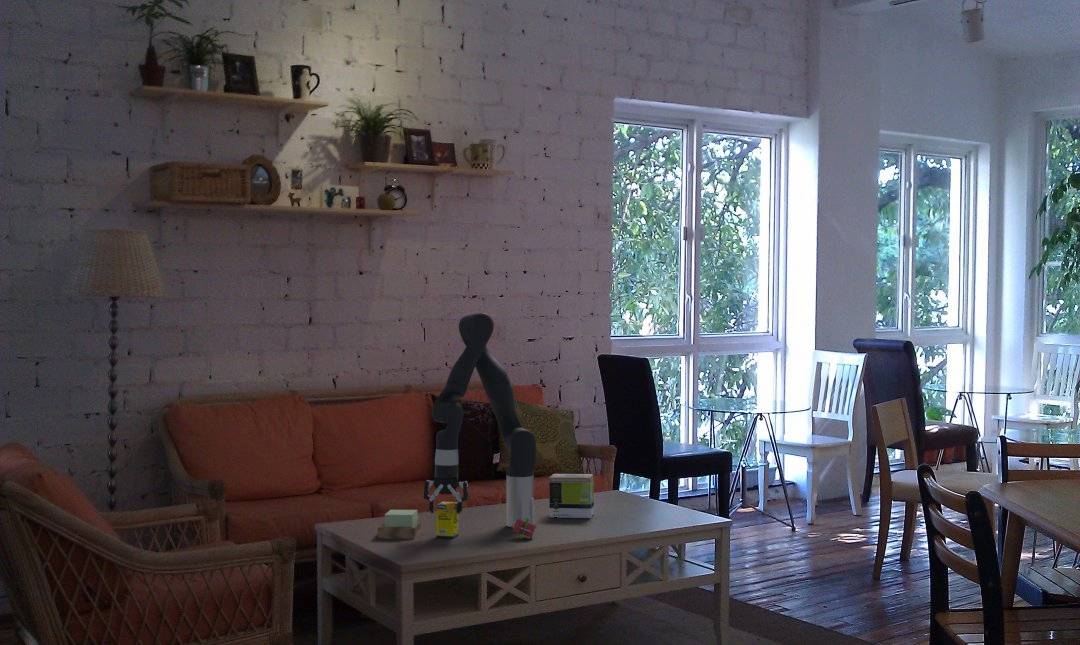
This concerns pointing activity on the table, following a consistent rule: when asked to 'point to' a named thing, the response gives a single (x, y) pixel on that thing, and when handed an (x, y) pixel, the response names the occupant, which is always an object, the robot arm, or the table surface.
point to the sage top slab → (401, 518)
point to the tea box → (571, 495)
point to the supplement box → (447, 520)
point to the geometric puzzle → (524, 528)
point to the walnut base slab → (399, 531)
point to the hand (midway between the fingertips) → (445, 513)
